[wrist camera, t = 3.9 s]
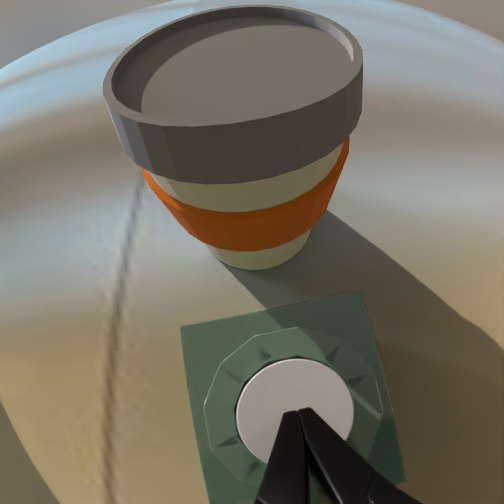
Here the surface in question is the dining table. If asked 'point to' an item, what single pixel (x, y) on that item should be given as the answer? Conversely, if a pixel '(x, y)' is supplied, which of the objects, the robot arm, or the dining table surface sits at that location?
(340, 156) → the reusable coffee cup
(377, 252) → the dining table surface
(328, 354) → the button housing
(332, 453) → the robot arm
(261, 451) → the white button cap
